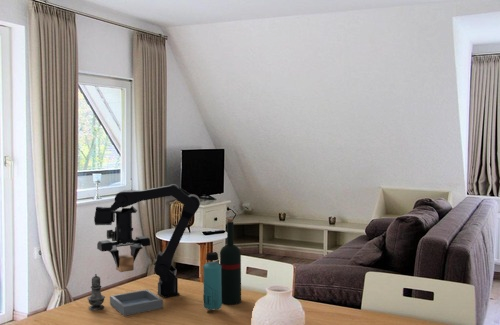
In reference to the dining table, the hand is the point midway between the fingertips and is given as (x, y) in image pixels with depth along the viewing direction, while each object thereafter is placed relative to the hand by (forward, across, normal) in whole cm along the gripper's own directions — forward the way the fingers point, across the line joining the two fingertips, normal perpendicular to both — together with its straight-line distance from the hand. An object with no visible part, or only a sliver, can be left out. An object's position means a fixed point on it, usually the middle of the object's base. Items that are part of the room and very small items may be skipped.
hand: (124, 266), depth 196 cm
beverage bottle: (+11, -19, +33) cm, 39 cm away
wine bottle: (+11, -30, +27) cm, 42 cm away
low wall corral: (+11, +1, +14) cm, 18 cm away
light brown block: (+1, 0, 0) cm, 1 cm away
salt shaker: (+11, +13, +8) cm, 19 cm away
